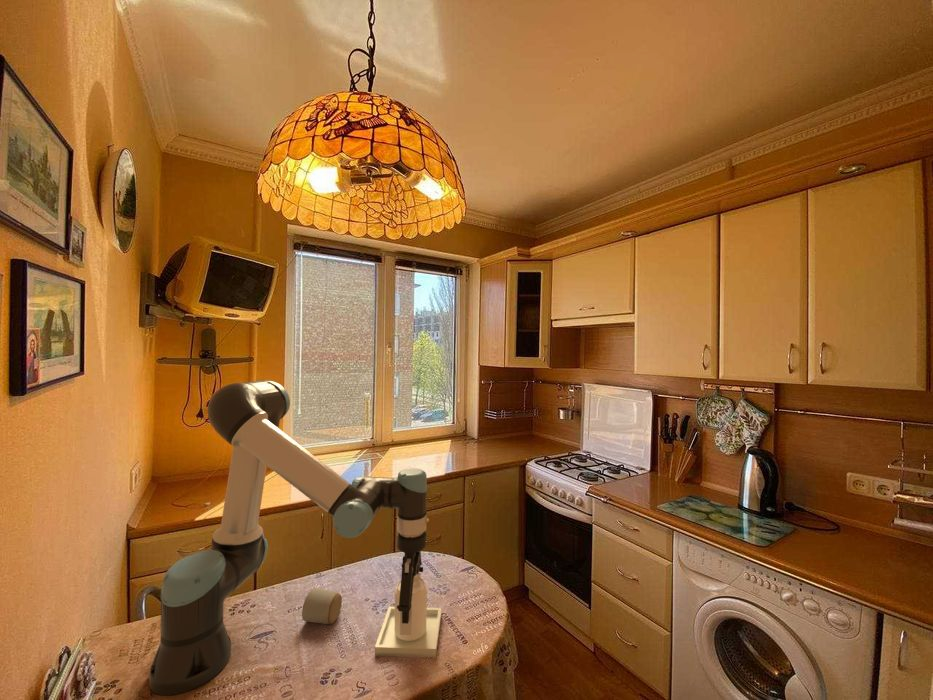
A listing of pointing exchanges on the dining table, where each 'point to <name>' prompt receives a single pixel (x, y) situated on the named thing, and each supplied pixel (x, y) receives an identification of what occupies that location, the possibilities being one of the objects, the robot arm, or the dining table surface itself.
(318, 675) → the dining table surface
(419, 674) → the dining table surface
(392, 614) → the holder tray
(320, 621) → the ceramic mug
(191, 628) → the robot arm
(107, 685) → the dining table surface
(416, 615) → the beverage can
